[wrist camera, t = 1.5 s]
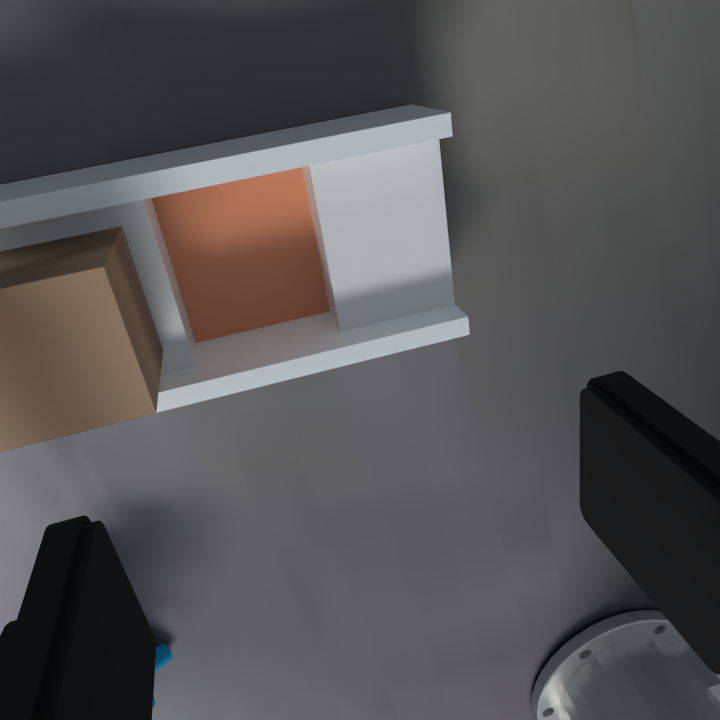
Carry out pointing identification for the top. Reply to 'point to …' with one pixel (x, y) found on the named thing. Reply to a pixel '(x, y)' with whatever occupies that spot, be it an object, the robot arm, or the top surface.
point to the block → (74, 339)
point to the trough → (271, 246)
